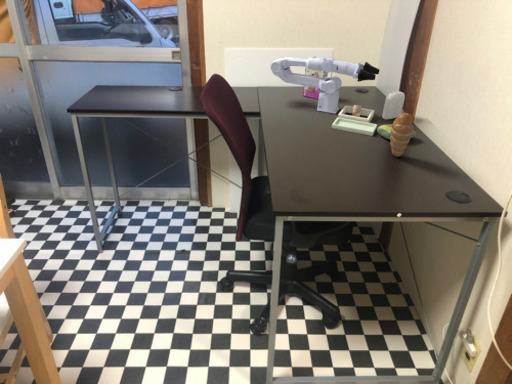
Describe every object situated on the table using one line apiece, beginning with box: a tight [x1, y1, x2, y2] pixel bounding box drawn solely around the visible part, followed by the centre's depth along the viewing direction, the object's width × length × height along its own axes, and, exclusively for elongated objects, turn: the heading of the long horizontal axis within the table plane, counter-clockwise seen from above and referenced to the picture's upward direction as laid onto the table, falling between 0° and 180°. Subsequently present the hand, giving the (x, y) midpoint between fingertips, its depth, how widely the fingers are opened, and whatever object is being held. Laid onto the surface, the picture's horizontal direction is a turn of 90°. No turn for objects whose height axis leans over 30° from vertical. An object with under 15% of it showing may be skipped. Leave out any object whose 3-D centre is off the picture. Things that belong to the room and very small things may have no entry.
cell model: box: [376, 123, 417, 140], centre depth 173 cm, size 11×8×15 cm
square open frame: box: [337, 105, 375, 123], centre depth 192 cm, size 14×14×3 cm
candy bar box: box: [302, 67, 329, 100], centre depth 214 cm, size 11×5×16 cm, turn 58°
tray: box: [331, 116, 378, 137], centre depth 181 cm, size 18×10×2 cm, turn 66°
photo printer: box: [381, 91, 406, 120], centre depth 193 cm, size 10×4×12 cm, turn 123°
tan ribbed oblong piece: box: [389, 109, 414, 158], centre depth 154 cm, size 9×8×18 cm
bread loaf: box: [351, 104, 362, 117], centre depth 191 cm, size 4×4×6 cm
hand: (377, 74), depth 184 cm, fingers open, 7 cm apart
